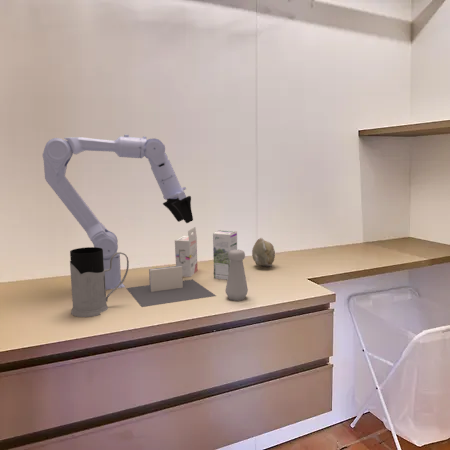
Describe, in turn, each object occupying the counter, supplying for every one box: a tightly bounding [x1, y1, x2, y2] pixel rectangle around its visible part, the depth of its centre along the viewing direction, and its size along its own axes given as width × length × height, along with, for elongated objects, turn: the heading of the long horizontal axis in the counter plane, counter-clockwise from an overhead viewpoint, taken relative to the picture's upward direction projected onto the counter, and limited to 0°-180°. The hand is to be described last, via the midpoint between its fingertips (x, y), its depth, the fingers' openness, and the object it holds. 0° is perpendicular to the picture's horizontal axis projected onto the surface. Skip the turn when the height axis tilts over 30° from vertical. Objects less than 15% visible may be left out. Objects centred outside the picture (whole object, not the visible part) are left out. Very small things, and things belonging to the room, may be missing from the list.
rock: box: [251, 237, 276, 268], centre depth 149 cm, size 9×8×10 cm
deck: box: [148, 265, 184, 292], centre depth 124 cm, size 9×2×6 cm, turn 114°
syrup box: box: [212, 229, 238, 281], centre depth 135 cm, size 6×6×14 cm
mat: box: [125, 278, 217, 308], centre depth 122 cm, size 20×18×1 cm
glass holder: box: [69, 246, 130, 318], centre depth 109 cm, size 9×14×15 cm, turn 114°
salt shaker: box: [224, 249, 249, 302], centre depth 115 cm, size 6×6×13 cm
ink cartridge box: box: [174, 226, 198, 278], centre depth 141 cm, size 9×5×15 cm, turn 168°
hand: (185, 221), depth 132 cm, fingers open, 7 cm apart
